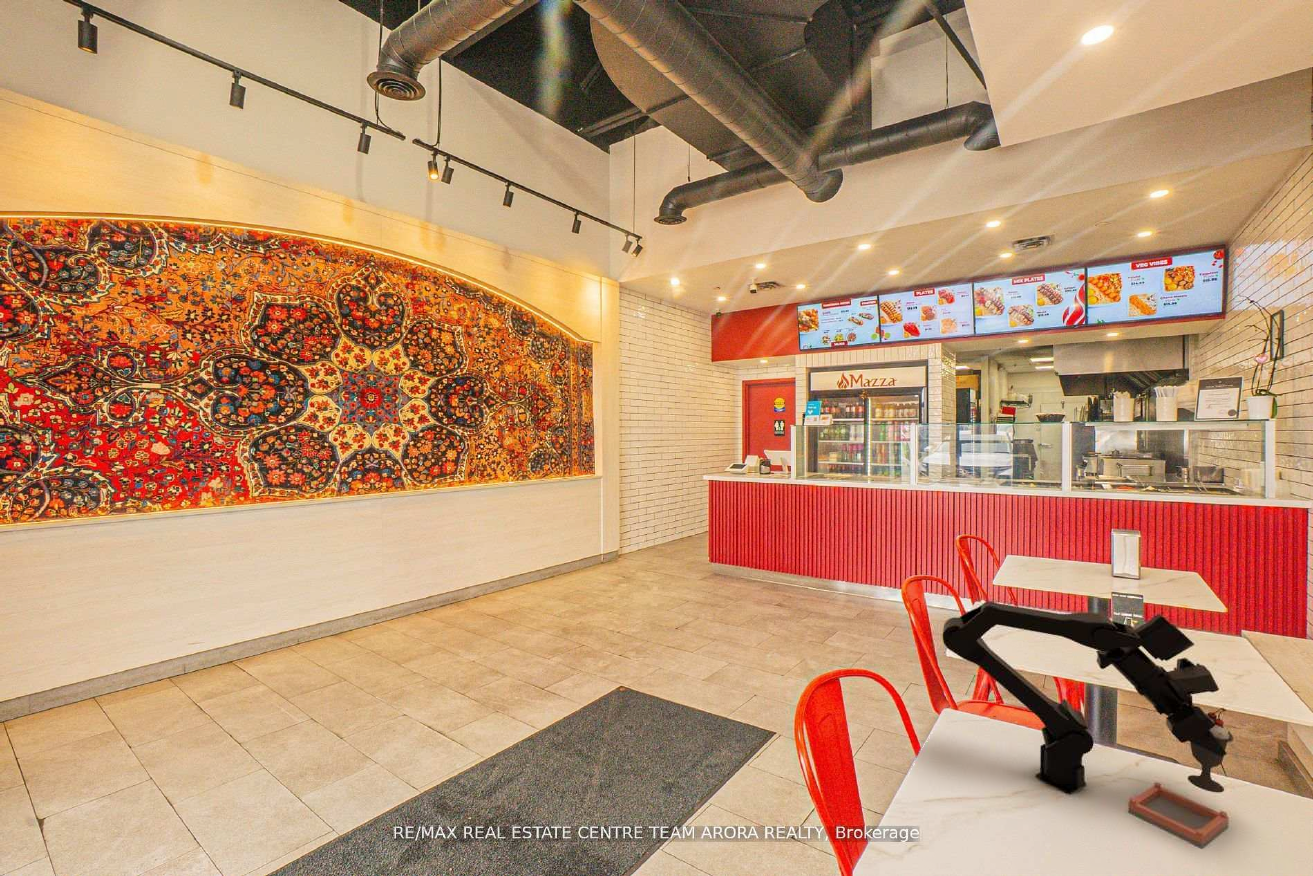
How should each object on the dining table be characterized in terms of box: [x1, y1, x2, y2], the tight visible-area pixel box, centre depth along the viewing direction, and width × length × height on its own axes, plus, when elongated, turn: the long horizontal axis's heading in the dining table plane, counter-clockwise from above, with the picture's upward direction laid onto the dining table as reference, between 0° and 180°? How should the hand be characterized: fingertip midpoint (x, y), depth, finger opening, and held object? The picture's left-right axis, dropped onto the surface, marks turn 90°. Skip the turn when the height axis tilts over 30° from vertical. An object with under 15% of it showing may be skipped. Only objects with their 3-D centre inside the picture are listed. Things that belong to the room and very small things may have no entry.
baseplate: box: [1128, 781, 1229, 849], centre depth 107 cm, size 11×11×3 cm
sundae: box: [1187, 707, 1234, 793], centre depth 108 cm, size 7×7×15 cm
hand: (1217, 746), depth 107 cm, fingers closed on sundae, 6 cm apart
